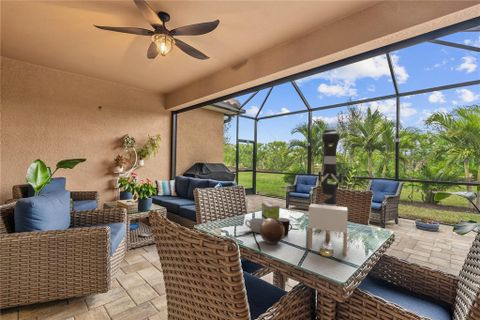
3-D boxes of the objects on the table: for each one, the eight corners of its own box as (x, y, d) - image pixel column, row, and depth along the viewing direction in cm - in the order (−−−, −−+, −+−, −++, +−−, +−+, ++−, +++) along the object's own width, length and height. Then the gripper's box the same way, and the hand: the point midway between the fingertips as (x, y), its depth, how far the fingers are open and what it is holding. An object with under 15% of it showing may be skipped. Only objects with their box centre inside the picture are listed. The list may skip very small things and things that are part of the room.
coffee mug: (275, 232, 158) (275, 217, 158) (287, 232, 159) (287, 217, 159) (279, 238, 147) (280, 222, 147) (292, 238, 147) (293, 222, 147)
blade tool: (321, 238, 147) (322, 229, 147) (333, 240, 144) (333, 231, 144) (319, 251, 127) (319, 240, 127) (333, 253, 125) (333, 242, 124)
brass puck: (327, 252, 127) (327, 249, 127) (334, 256, 121) (334, 253, 121) (318, 253, 125) (318, 250, 125) (324, 257, 119) (324, 254, 119)
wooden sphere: (254, 241, 140) (254, 217, 140) (271, 236, 149) (272, 214, 149) (271, 249, 128) (272, 223, 128) (289, 244, 137) (290, 219, 137)
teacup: (266, 230, 163) (266, 219, 162) (263, 234, 152) (263, 223, 152) (247, 227, 167) (248, 217, 167) (243, 232, 157) (243, 220, 157)
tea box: (261, 219, 190) (261, 202, 190) (272, 219, 192) (272, 201, 192) (267, 225, 175) (267, 205, 175) (279, 224, 178) (280, 205, 177)
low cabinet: (309, 242, 140) (310, 203, 140) (345, 248, 132) (346, 207, 132) (307, 248, 131) (309, 206, 130) (346, 255, 123) (347, 210, 123)
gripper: (318, 163, 149) (317, 187, 149) (342, 163, 143) (341, 189, 144) (319, 162, 156) (318, 186, 156) (341, 163, 150) (341, 187, 150)
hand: (329, 187), depth 150 cm, fingers open, 8 cm apart
